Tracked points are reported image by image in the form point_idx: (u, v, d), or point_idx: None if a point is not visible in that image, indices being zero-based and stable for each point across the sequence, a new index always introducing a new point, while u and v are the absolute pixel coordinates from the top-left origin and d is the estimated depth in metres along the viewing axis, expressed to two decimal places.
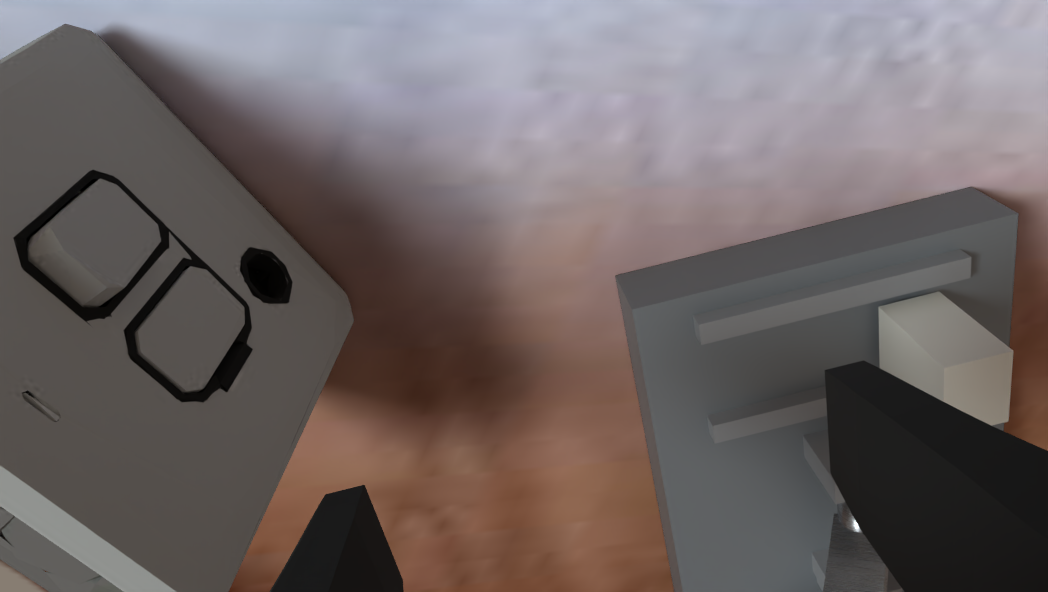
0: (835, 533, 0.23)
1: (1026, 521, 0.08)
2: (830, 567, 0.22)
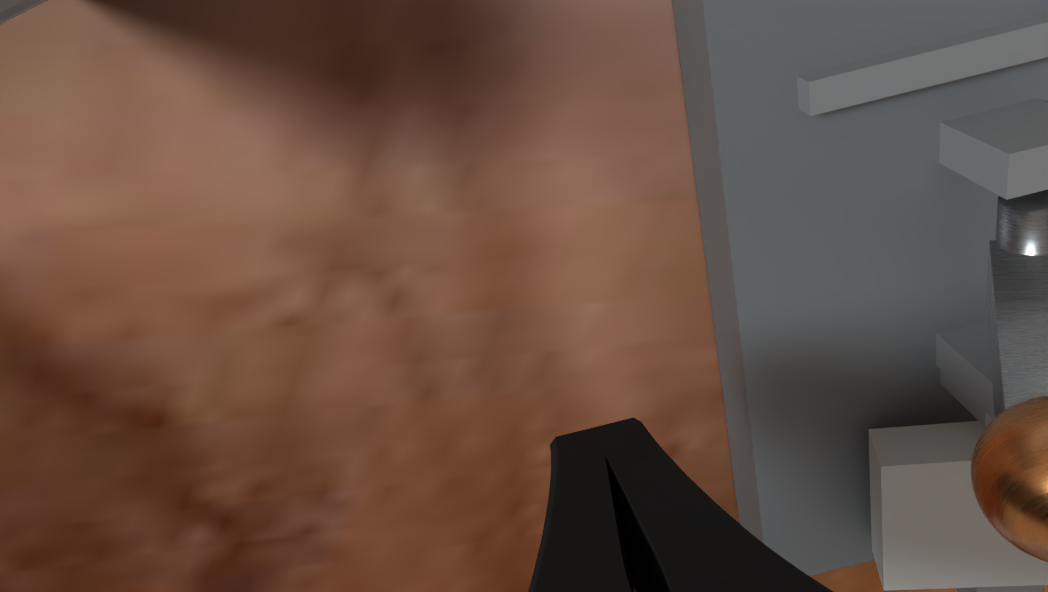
0: (998, 259, 0.14)
1: None
2: (1001, 295, 0.13)
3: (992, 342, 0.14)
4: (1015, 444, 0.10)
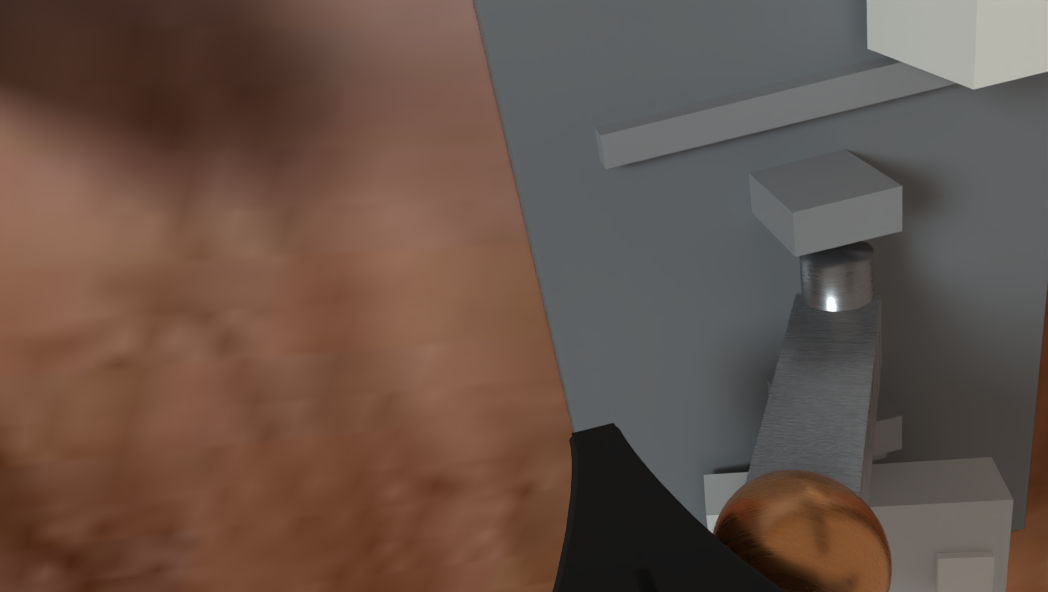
0: (796, 315, 0.14)
1: None
2: (786, 354, 0.13)
3: None
4: (738, 523, 0.10)
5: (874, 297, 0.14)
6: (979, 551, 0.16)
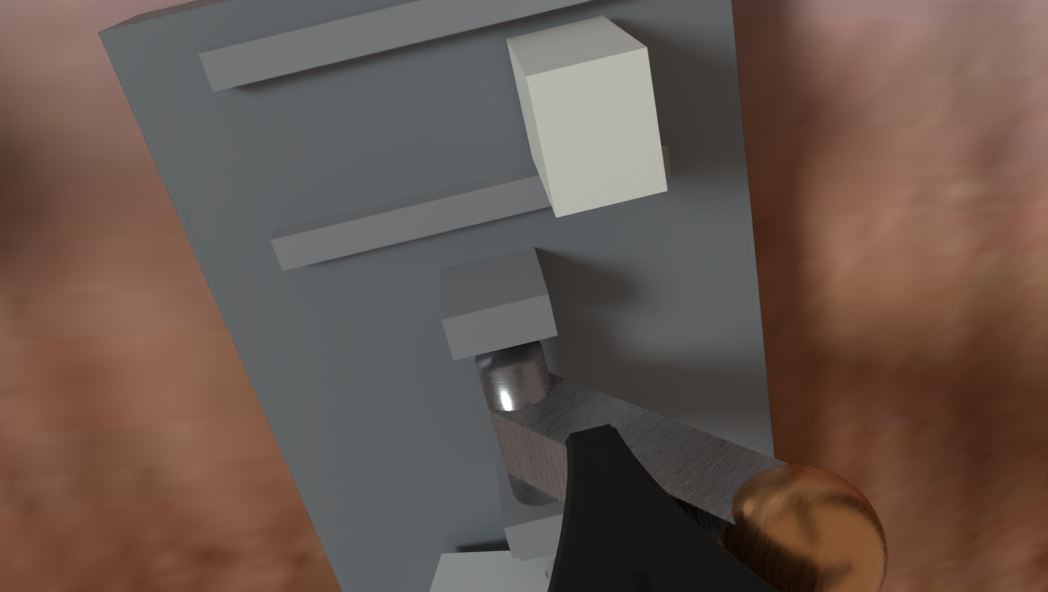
0: (522, 421, 0.14)
1: None
2: None
3: None
4: (794, 542, 0.10)
5: None
6: None
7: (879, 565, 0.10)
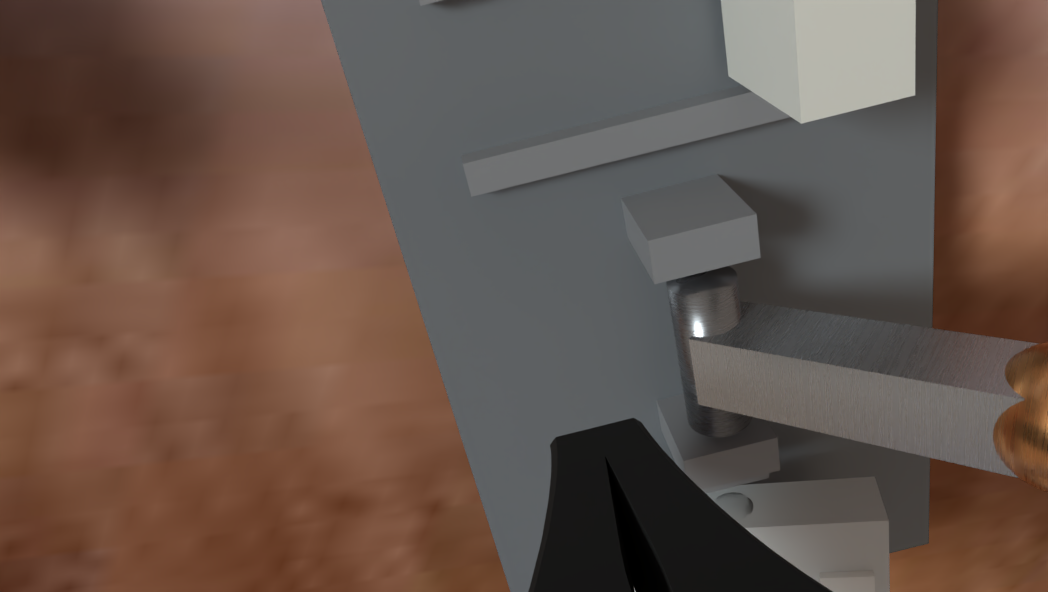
0: (732, 343, 0.14)
1: None
2: (804, 356, 0.13)
3: (813, 403, 0.13)
4: None
5: None
6: (860, 570, 0.16)
7: None
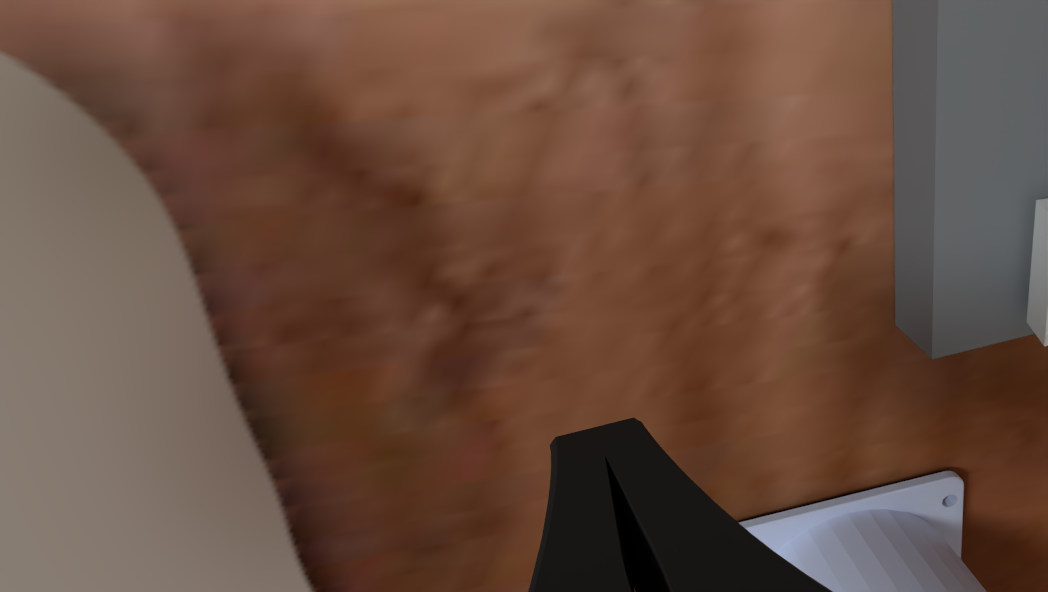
0: None
1: None
2: None
3: None
4: None
5: None
6: None
7: None
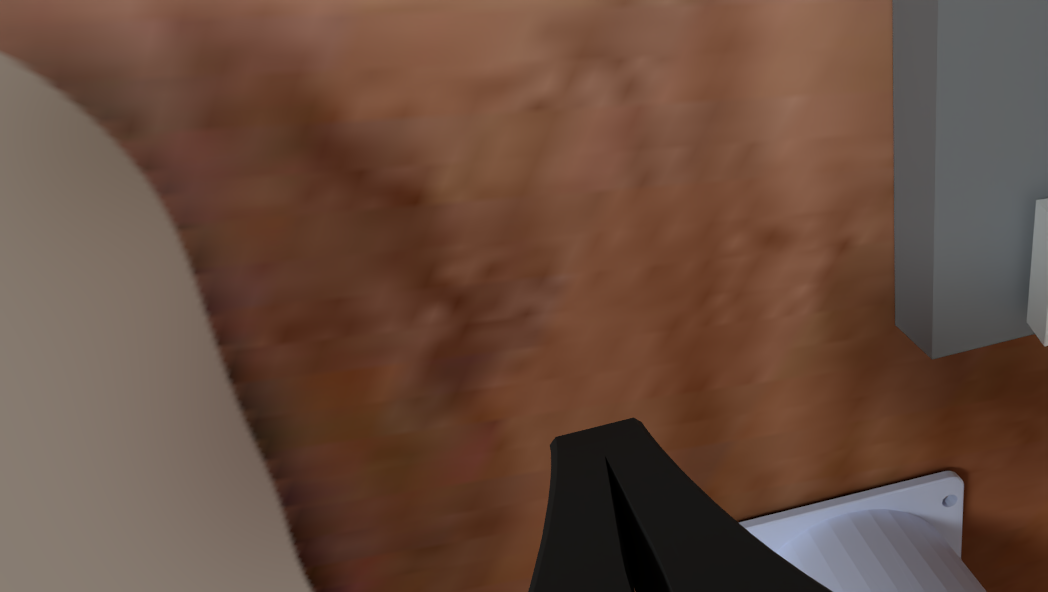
0: None
1: None
2: None
3: None
4: None
5: None
6: None
7: None
